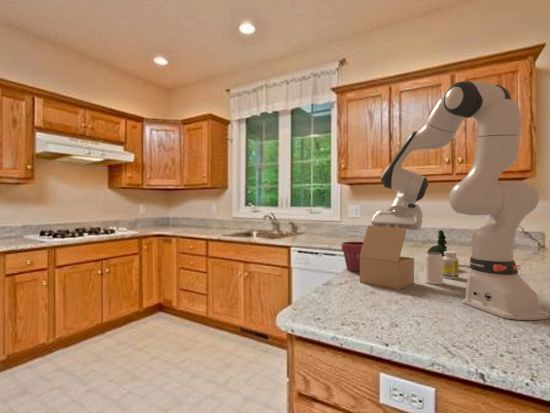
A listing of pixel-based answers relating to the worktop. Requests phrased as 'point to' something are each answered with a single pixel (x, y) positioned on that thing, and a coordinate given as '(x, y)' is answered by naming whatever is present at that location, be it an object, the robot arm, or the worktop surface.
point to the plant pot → (352, 255)
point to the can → (433, 268)
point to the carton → (387, 272)
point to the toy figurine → (440, 244)
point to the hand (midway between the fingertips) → (389, 234)
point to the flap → (383, 243)
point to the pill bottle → (450, 265)
